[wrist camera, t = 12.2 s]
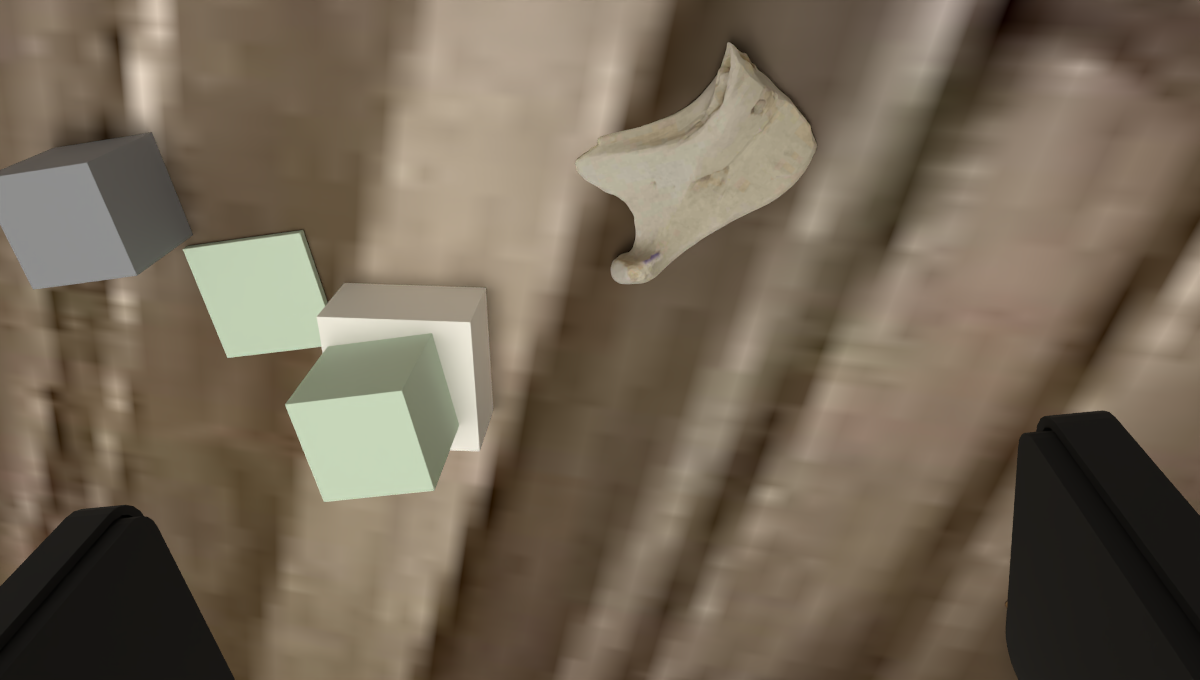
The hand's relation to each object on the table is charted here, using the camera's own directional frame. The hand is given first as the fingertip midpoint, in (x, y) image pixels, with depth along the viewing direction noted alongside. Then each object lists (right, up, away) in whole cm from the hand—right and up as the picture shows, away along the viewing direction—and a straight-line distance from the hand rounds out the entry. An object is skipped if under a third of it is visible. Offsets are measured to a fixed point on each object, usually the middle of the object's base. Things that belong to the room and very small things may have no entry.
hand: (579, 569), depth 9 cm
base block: (-9, +2, +34) cm, 35 cm away
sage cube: (-9, 0, +31) cm, 32 cm away
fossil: (+4, +10, +29) cm, 31 cm away
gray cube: (-22, +10, +31) cm, 39 cm away
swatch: (-16, +5, +33) cm, 37 cm away
